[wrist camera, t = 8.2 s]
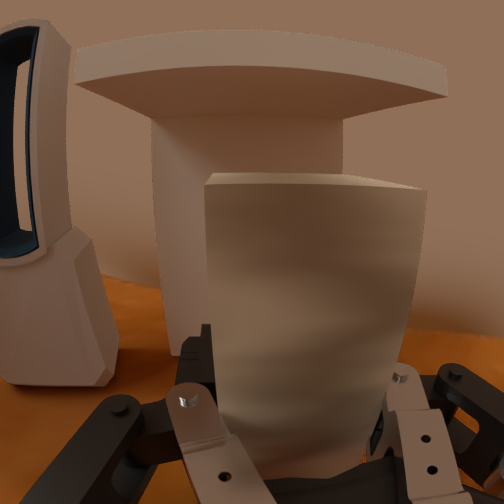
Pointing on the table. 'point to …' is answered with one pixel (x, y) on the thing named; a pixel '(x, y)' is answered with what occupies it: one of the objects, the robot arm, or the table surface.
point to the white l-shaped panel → (240, 123)
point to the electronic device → (46, 233)
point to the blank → (308, 310)
